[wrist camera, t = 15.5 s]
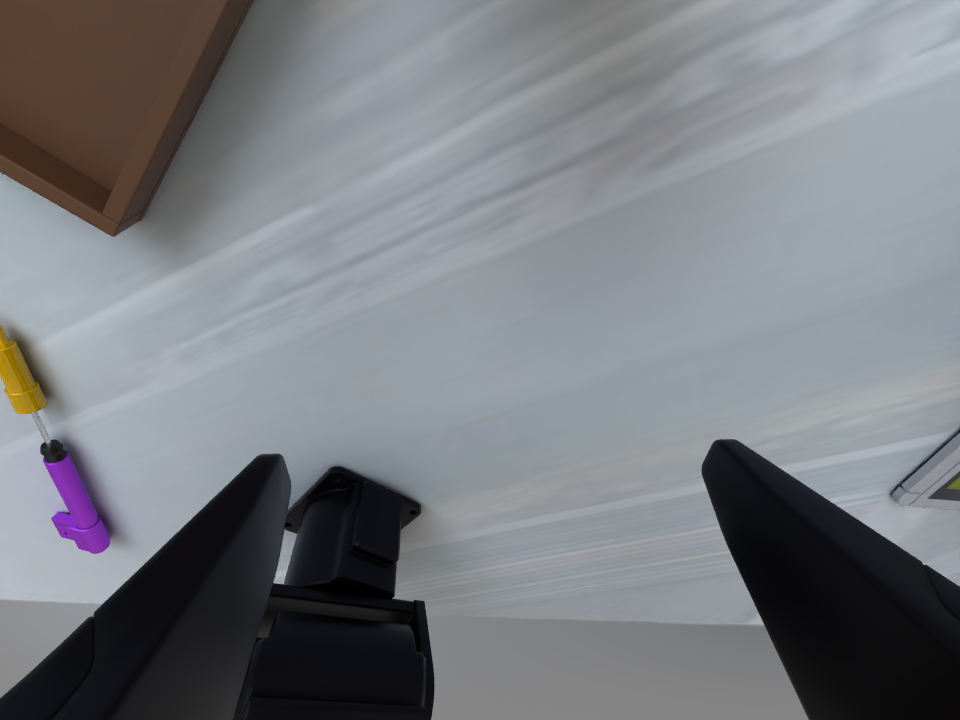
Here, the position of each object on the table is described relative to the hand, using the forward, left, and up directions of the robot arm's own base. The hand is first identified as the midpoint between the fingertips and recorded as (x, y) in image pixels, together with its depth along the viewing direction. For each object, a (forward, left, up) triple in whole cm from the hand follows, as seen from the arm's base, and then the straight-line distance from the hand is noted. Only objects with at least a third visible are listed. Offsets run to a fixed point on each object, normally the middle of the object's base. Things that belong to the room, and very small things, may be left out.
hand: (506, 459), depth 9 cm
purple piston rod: (-23, +9, -12) cm, 27 cm away
